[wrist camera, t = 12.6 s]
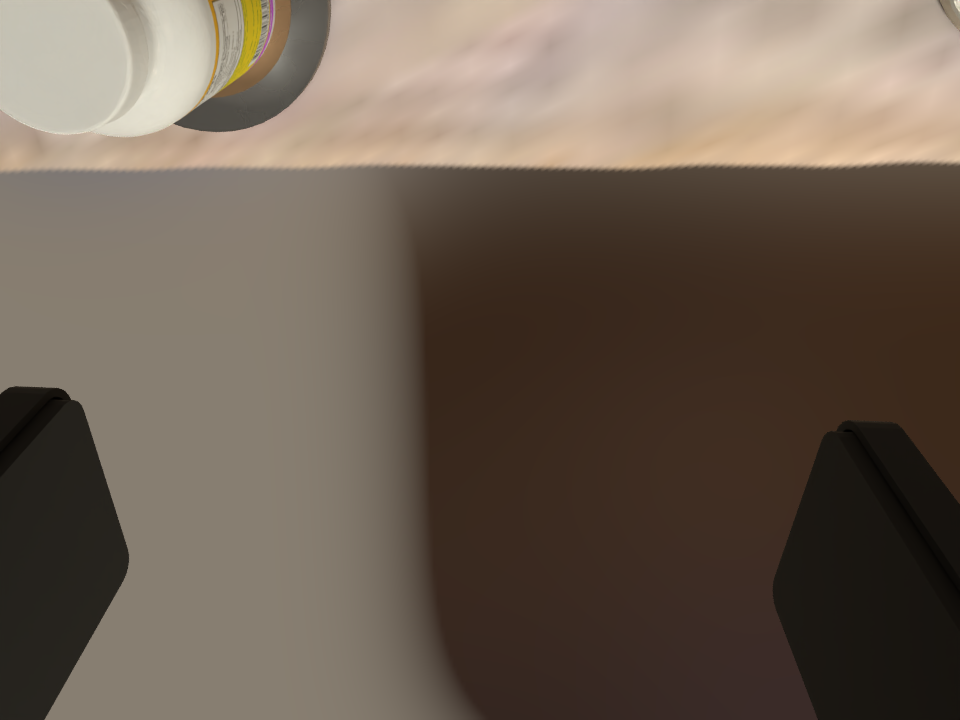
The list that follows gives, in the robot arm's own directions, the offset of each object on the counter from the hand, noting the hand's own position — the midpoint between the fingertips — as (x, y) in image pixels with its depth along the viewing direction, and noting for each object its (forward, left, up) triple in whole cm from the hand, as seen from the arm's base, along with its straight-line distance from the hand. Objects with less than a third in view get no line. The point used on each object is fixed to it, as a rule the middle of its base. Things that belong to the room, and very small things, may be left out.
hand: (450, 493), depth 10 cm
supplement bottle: (+11, -3, -27) cm, 29 cm away
